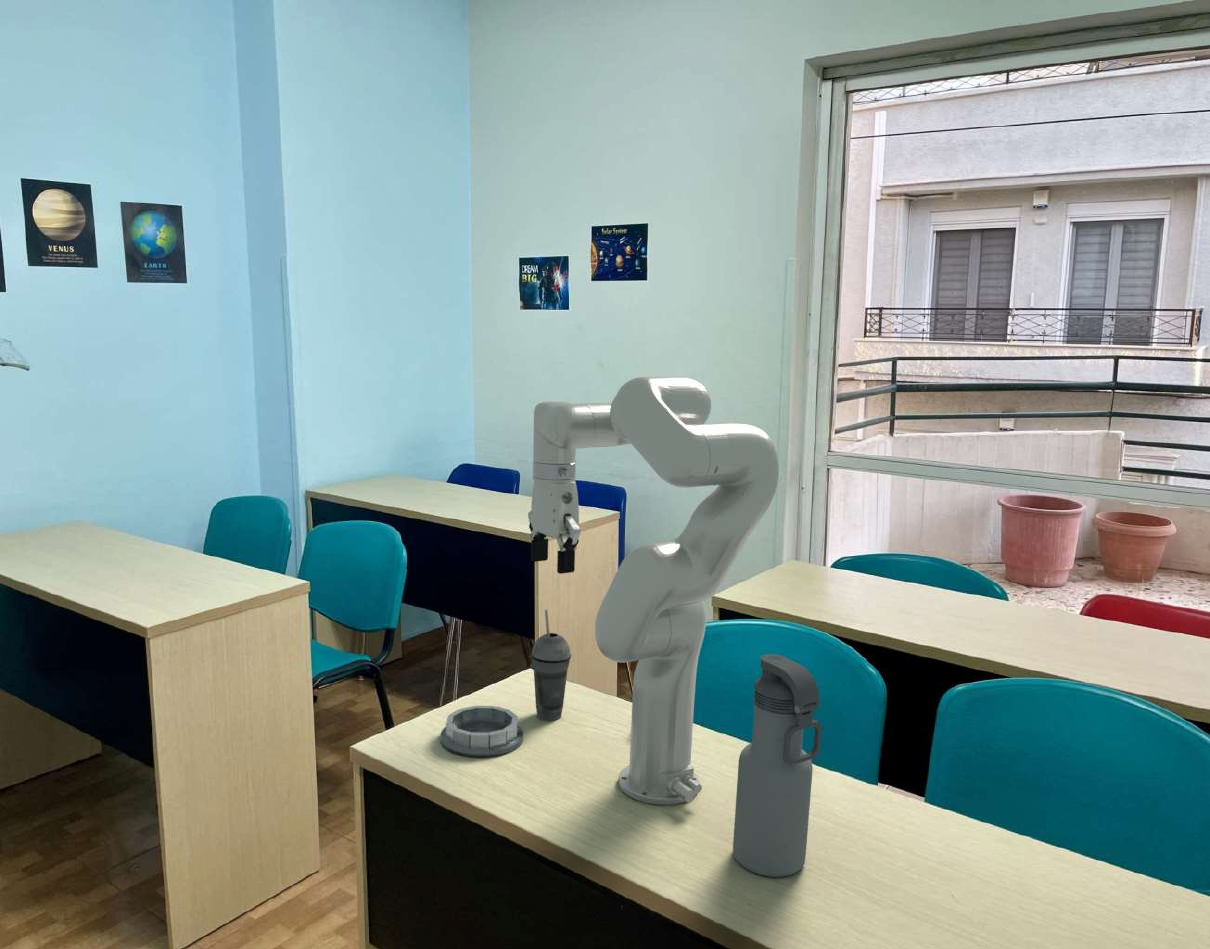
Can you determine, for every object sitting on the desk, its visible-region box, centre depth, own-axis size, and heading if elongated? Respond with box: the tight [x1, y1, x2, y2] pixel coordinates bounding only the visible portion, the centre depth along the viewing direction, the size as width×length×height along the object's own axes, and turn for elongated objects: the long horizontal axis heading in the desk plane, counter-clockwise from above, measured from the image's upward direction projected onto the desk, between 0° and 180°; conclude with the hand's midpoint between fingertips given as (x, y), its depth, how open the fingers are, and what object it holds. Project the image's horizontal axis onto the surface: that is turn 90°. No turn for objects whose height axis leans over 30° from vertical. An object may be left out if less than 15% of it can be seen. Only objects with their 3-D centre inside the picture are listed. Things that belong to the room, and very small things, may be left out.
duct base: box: [440, 705, 524, 759], centre depth 160 cm, size 14×14×4 cm
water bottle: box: [732, 653, 823, 878], centre depth 125 cm, size 10×10×28 cm
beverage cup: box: [530, 609, 572, 722], centre depth 169 cm, size 7×7×20 cm
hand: (552, 566), depth 167 cm, fingers open, 9 cm apart
